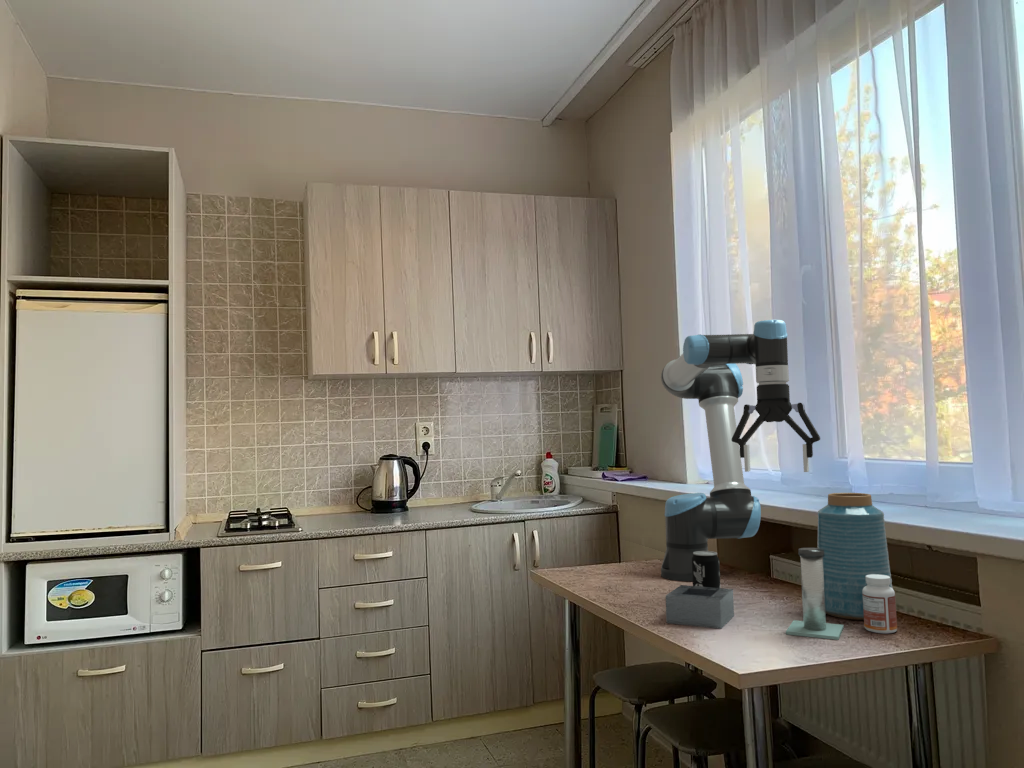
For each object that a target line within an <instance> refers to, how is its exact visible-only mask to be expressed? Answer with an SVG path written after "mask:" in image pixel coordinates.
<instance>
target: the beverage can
mask: <svg viewBox="0 0 1024 768" xmlns="http://www.w3.org/2000/svg"><path fill="white" fill-rule="evenodd" d="M693 554H694V555H693V557H692V580H693V581H692V586H700V587H712V588H721V573H720V572H721V571H720V569H721V568H720V558H719V557H718V552H716V551H711V550H708V551H696V552H693Z"/></svg>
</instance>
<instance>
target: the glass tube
mask: <svg viewBox="0 0 1024 768" xmlns="http://www.w3.org/2000/svg"><path fill="white" fill-rule="evenodd" d="M798 556H799V557H800V576H801V577H800V578H801V600H802V618H803V620H802V621H803V624H804V628H805V629H807V630H812V631H823V630H826V623H827V616H826V612H825V591H824V569H823V557H824V550H823V549H820V548H818V547H801V548H798Z"/></svg>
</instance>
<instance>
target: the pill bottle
mask: <svg viewBox="0 0 1024 768" xmlns="http://www.w3.org/2000/svg"><path fill="white" fill-rule="evenodd" d="M866 583H867V586H865V587H864V588H863V590H862V593H863V611H864V620H863V625H864V629H865V630H866V631H869V632H871V633H876V634H884V635H885V634H894V633H895V632H897V631H898V617H897V605H896V604H897V602H896V601H897V600H896V593H895V592H896V591H895V590H894V588H893V589H892V588H891V587H889V585H890V583H891V581H890V577H889V576H887V575H879V574H871V575H866ZM891 584H892V583H891Z"/></svg>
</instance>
